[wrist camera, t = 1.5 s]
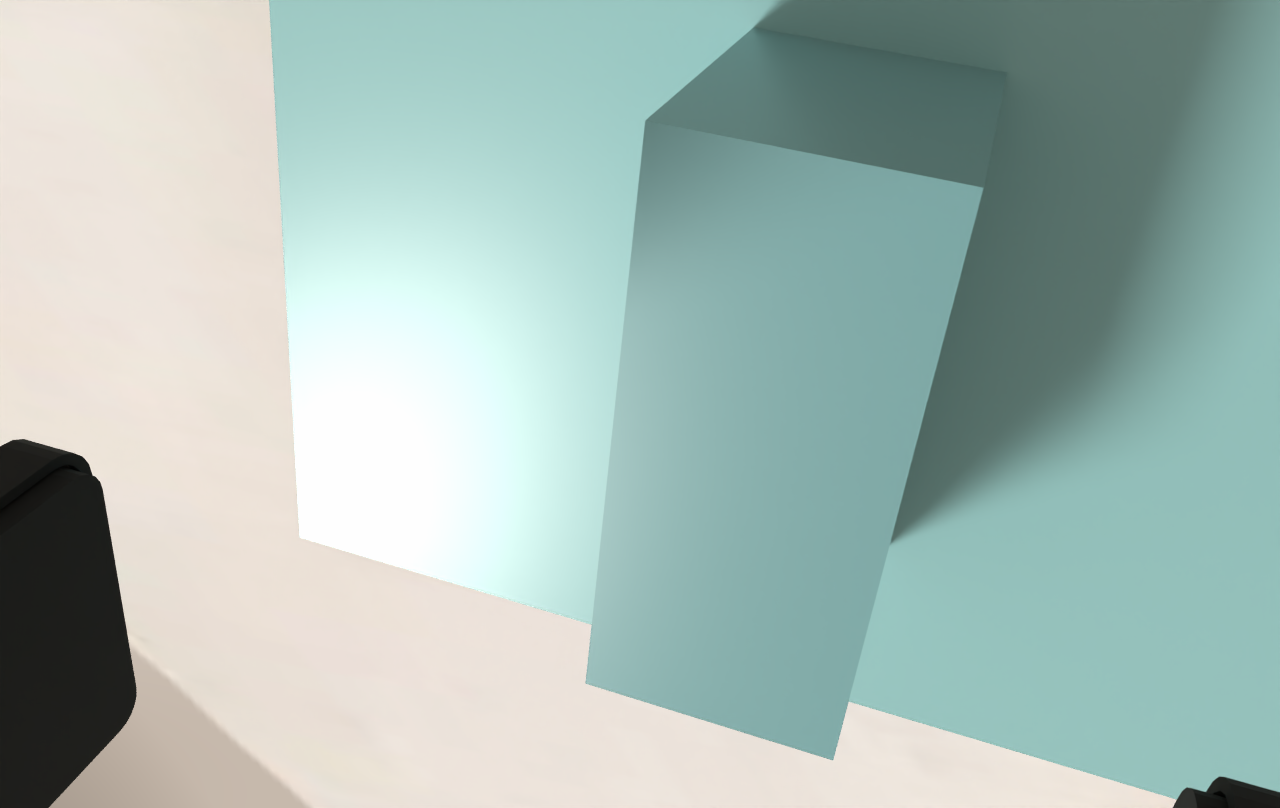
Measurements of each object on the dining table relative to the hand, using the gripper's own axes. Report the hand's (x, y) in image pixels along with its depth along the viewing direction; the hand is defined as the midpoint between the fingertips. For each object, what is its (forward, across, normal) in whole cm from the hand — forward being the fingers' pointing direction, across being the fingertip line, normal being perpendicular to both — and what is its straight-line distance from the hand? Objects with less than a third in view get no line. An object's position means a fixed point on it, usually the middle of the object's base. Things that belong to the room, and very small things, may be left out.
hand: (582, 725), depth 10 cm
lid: (+12, -1, 0) cm, 13 cm away
